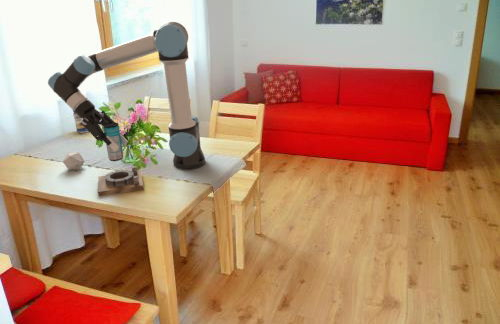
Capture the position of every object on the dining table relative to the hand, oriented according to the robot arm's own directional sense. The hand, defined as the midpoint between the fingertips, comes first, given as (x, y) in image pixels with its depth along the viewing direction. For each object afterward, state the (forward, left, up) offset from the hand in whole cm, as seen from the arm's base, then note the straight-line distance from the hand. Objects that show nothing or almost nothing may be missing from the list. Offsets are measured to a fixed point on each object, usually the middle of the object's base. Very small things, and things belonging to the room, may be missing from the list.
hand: (121, 146), depth 170 cm
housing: (+3, -2, -18) cm, 18 cm away
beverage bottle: (+22, -88, -18) cm, 92 cm away
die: (+23, -28, -18) cm, 40 cm away
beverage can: (+3, -2, -6) cm, 7 cm away
